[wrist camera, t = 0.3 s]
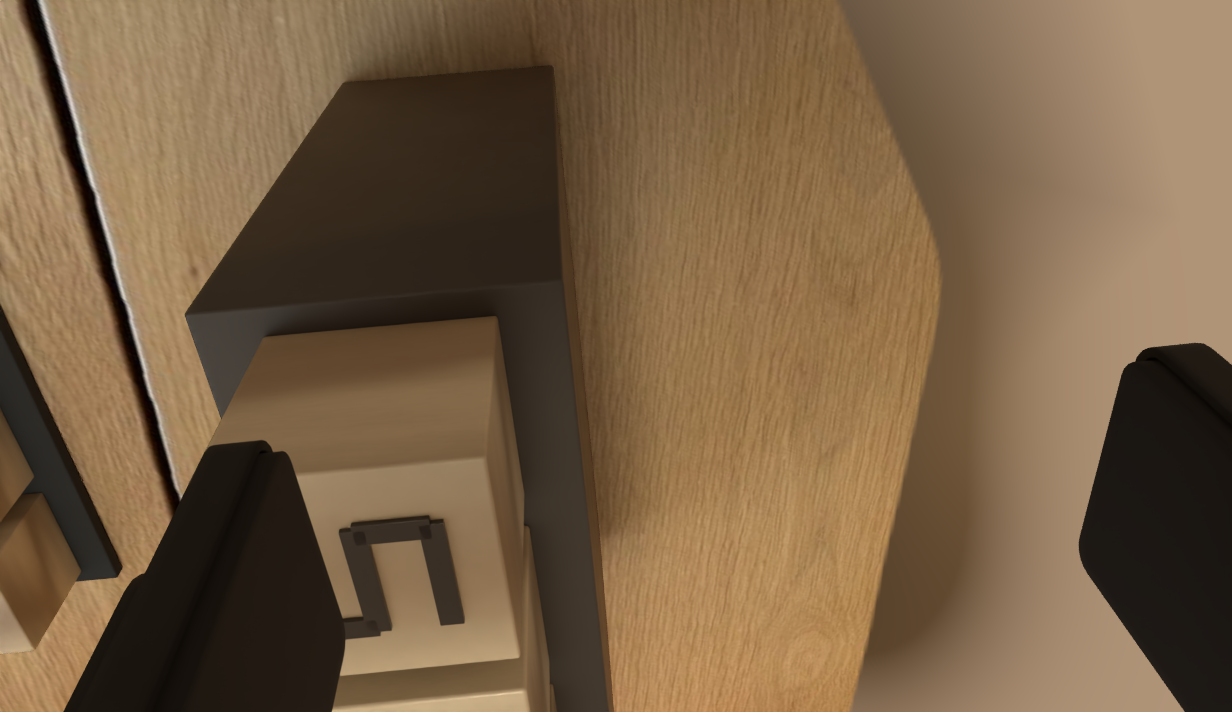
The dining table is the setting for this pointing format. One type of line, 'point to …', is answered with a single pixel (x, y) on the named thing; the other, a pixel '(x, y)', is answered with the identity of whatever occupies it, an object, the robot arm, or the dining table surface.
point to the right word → (436, 291)
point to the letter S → (401, 482)
